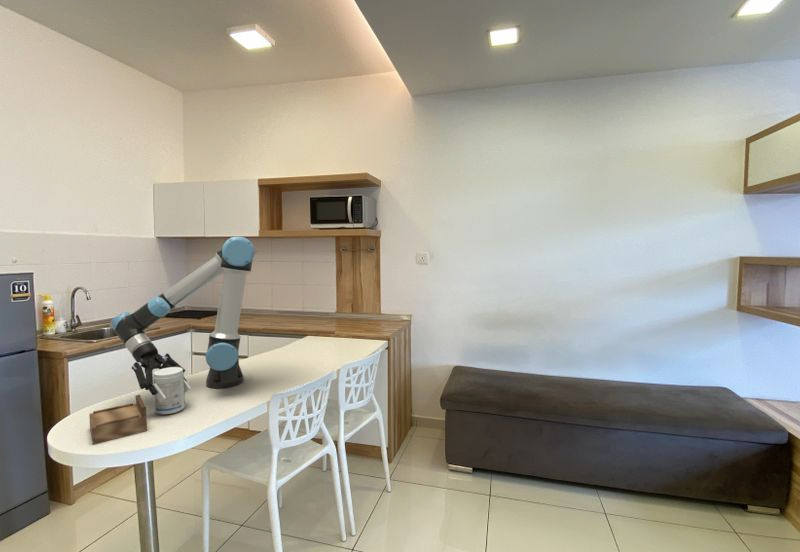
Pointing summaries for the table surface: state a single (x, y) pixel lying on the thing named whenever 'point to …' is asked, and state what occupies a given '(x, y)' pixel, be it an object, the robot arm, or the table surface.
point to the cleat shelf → (118, 421)
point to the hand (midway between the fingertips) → (176, 395)
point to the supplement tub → (170, 390)
